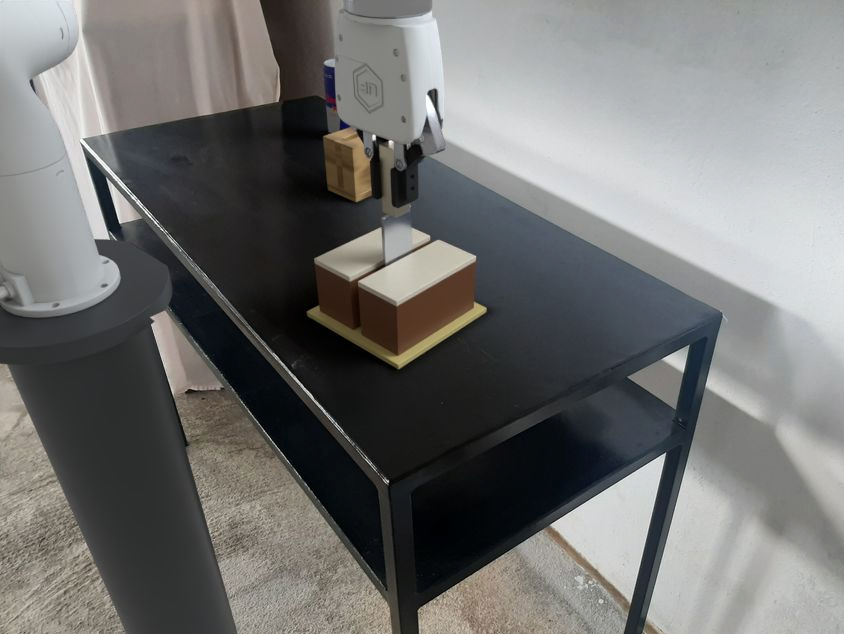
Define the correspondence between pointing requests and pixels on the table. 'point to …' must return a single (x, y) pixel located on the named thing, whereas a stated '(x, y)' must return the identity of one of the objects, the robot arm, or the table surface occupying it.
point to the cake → (396, 295)
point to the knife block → (347, 165)
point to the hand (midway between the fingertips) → (395, 197)
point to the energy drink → (332, 98)
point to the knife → (393, 213)
